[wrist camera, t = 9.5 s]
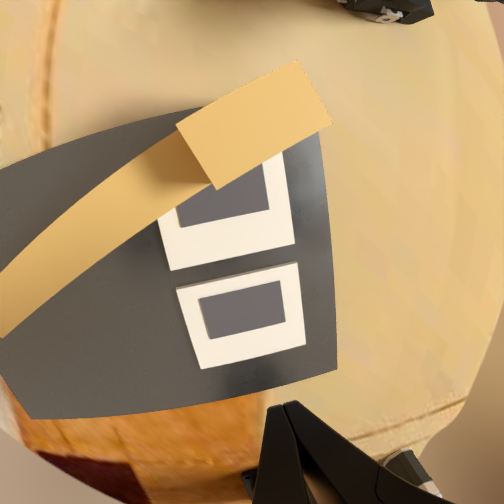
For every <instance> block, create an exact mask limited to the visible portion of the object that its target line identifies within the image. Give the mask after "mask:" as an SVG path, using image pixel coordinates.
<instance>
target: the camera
mask: <svg viewBox="0 0 504 504" xmlns="http://www.w3.org/2000/svg"><path fill="white" fill-rule="evenodd" d="M383 466H384V467H385V468H387V469H388V470H390V471H391V472H393V473H394V474H396V475H397V476H399V477H400V478H402V479H404V480H405V481H407V482H409V483H411V484H413V485H415V486H417V487H419V488H421V489H423V490H425V491H427V492H429V493H432V494H434V495H436V496H438V497H441V498H443V496H442V495H441V494H439V490H438V489H437V487H436V486H435V484H434V483H433V481H432V478H431V477H429V475H428V474H427V473H426V471H425V470H424V468H423V467H422V465H421V464H420V462H419V461H418V459H417V458H416V457H415V455H414V453H413V451H412V450H410V448H409V447H408V448H402V449H399V450H398V451H396V452H394V453H393V454H391V455H389V456H388V457H387V458H386V460H385V461H384V462H383Z"/></svg>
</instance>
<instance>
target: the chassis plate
mask: <svg viewBox="0 0 504 504" xmlns="http://www.w3.org/2000/svg"><path fill="white" fill-rule="evenodd" d="M202 108H204V107H200V108H194V109H189V110H184V111H180V112H175V113H170V114H166V115H162V116H157V117H153V118H149V119H145V120H141V121H137V122H133V123H130V124H126V125H122V126H119V127H115V128H112V129H109V130H105V131H102V132H99V133H95V134H92V135H89V136H86V137H83V138H80V139H77V140H74V141H71V142H68V143H65V144H63V145H60V146H57V147H54V148H52V149H49V150H46V151H44V152H41V153H39V154H36V155H34V156H31V157H29V158H26V159H24V160H22V161H19V162H17V163H15V164H12V165H10V166H8V167H6V168H3V169H1V170H0V273H1V272H2V271H3V270H4V269H5V268H6V267H7V266H8V264H9V263H10V262H11V261H12V260H13V259H14V258H15V257H16V256H17V255H19V254H20V253H21V252H22V251H23V250H24V249H25V248H26V247H27V246H28V245H29V244H30V243H31V242H32V241H33V240H34V239H35V238H36V237H37V236H38V235H40V234H41V233H42V232H43V231H44V230H45V229H46V228H47V227H48V226H50V225H51V224H52V223H53V222H54V221H55V220H56V219H58V218H59V217H60V216H61V215H62V214H63V213H65V212H66V211H67V210H68V209H69V208H70V207H72V206H73V205H74V204H75V203H76V202H78V201H79V200H80V199H81V198H83V197H84V196H85V195H86V194H88V193H89V192H90V191H91V190H93V189H94V188H95V187H96V186H98V185H99V184H100V183H102V182H103V181H104V180H106V179H107V178H108V177H110V176H111V175H112V174H114V173H115V172H116V171H118V170H119V169H120V168H122V167H123V166H125V165H126V164H127V163H129V162H130V161H132V160H133V159H134V158H136V157H137V156H139V155H140V154H142V153H143V152H144V151H146V150H147V149H149V148H150V147H152V146H153V145H155V144H156V143H158V142H159V141H161V140H162V139H164V138H166V137H167V136H169V135H170V134H172V133H173V132H175V131H176V130H178V128H177V126H176V125H175V124H177V123H179V122H180V121H182V120H183V119H185V118H187V117H188V116H190V115H192V114H193V113H195V112H197V111H198V110H200V109H202ZM282 155H283V161H284V168H285V175H286V181H287V188H288V195H289V202H290V210H291V217H292V225H293V232H294V240H295V244H291V245H287V246H282V247H278V248H273V249H268V250H264V251H259V252H255V253H250V254H246V255H241V256H237V257H232V258H227V259H223V260H218V261H214V262H209V263H205V264H200V265H196V266H191V267H186V268H182V269H177V270H173V271H171V270H170V267H169V263H168V259H167V255H166V251H165V248H164V244H163V240H162V236H161V232H160V228H159V224H158V220H155V221H154V222H152V223H151V224H149V225H148V226H146V227H145V228H144V229H142V230H141V231H139V232H138V233H136V234H135V235H133V236H132V237H131V238H129V239H128V240H126V241H125V242H124V243H122V244H121V245H119V246H118V247H117V248H115V249H114V250H112V251H111V252H110V253H108V254H107V255H106V256H104V257H103V258H102V259H100V260H99V261H98V262H96V263H95V264H94V265H92V266H91V267H90V268H88V269H87V270H86V271H84V272H83V273H82V274H80V275H79V276H78V277H76V278H75V279H74V280H73V281H71V282H70V283H69V284H67V285H66V286H65V287H64V288H62V289H61V290H60V291H59V292H57V293H56V294H55V295H54V296H52V297H51V298H50V299H49V300H47V301H46V302H45V303H44V304H42V305H41V306H40V307H39V308H38V309H36V310H35V311H34V312H33V313H32V314H30V315H29V316H28V317H27V318H26V319H24V320H23V321H22V322H21V323H20V324H19V325H17V326H16V327H15V328H14V329H13V330H12V331H11V332H9V333H8V334H7V335H6V336H5V337H4V338H3V339H2V338H1V337H0V373H1V375H2V377H3V378H4V380H5V381H6V383H7V385H8V386H9V388H10V389H11V391H12V392H13V394H14V395H15V397H16V398H17V400H18V401H19V403H20V404H21V406H22V407H23V408H24V410H25V411H26V413H27V414H28V415H29V417H30V418H31V419H77V418H94V417H108V416H119V415H129V414H138V413H146V412H154V411H161V410H168V409H175V408H181V407H187V406H193V405H198V404H204V403H209V402H214V401H219V400H224V399H229V398H233V397H238V396H242V395H247V394H251V393H255V392H259V391H263V390H267V389H271V388H275V387H279V386H283V385H286V384H290V383H294V382H297V381H301V380H304V379H307V378H311V377H314V376H317V375H321V374H324V373H327V372H330V371H333V370H336V369H337V334H336V308H335V289H334V272H333V258H332V246H331V234H330V223H329V213H328V203H327V194H326V185H325V177H324V169H323V161H322V154H321V147H320V140H319V133H318V132H316V133H314V134H312V135H311V136H309V137H307V138H305V139H303V140H302V141H300V142H298V143H296V144H294V145H293V146H291V147H289V148H287V149H286V150H284V151H282ZM292 261H296V262H297V264H298V273H299V282H300V290H301V300H302V309H303V319H304V329H305V339H306V344H305V345H301V346H298V347H294V348H290V349H286V350H283V351H279V352H275V353H271V354H267V355H263V356H259V357H255V358H251V359H247V360H242V361H238V362H234V363H229V364H225V365H220V366H215V367H210V368H205V369H201V368H200V365H199V362H198V359H197V356H196V353H195V350H194V347H193V344H192V341H191V338H190V335H189V331H188V328H187V325H186V322H185V319H184V315H183V312H182V309H181V305H180V302H179V298H178V295H177V292H176V287H180V286H185V285H190V284H194V283H199V282H203V281H208V280H213V279H217V278H222V277H226V276H231V275H235V274H240V273H244V272H249V271H253V270H257V269H262V268H266V267H271V266H275V265H279V264H284V263H288V262H292Z"/></svg>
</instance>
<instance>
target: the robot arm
mask: <svg viewBox="0 0 504 504" xmlns="http://www.w3.org/2000/svg"><path fill="white" fill-rule="evenodd" d="M241 477H242V481H243V483H244V485H245V487H246V489H247V492H248V494H249V496H250V498H251V500H252V504H455V503H452V502H450V501H448V500H445V499H443V498H441V497H438V496H436V495H434V494H432V493H429V492H427V491H425V490H423V489H421V488H419V487H417V486H415V485H413V484H411V483H409V482H407V481H405V480H404V479H402V478H400V477H399V476H397V475H396V474H394V473H393V472H391V471H390V470H388V469H387V468H385V467H384V466H382V465H381V466H380V464H379V463H378V462H377V461H375V460H374V459H372V458H371V457H370V456H368V455H367V454H366V453H364V452H363V451H361V450H360V449H359V448H357V447H356V446H355V445H353V444H352V443H351V442H349V441H348V440H347V439H345V438H344V437H343V436H341V435H340V434H339V433H337V432H336V431H335V430H334V429H332V428H331V427H330V426H328V425H327V424H326V423H325V422H323V421H322V420H321V419H320V418H318V417H317V416H316V415H315V414H313V413H312V412H311V411H310V410H308V409H307V408H306V407H305V406H303V405H302V404H301V403H300V402H298V401H297V400H293V401H290V402H286V403H284V404H283V406H282V405H281V404H279V405H275V406H271V407H269V408H268V409H267V415H266V422H265V428H264V435H263V441H262V447H261V454H260V460H259V466H258V469H257V470H252V471H248V472H244V473H242V474H241Z"/></svg>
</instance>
